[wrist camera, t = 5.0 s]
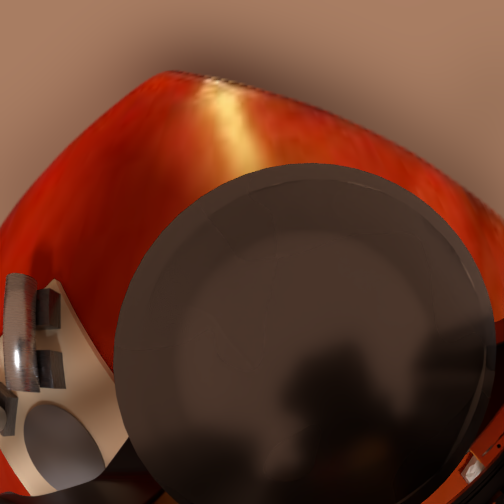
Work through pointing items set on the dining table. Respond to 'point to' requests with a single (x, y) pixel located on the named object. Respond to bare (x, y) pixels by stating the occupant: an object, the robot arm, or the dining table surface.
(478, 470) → the packaged product
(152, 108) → the dining table surface
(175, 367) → the drinking glass
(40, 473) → the board
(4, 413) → the shaft
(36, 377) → the shaft
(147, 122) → the dining table surface
